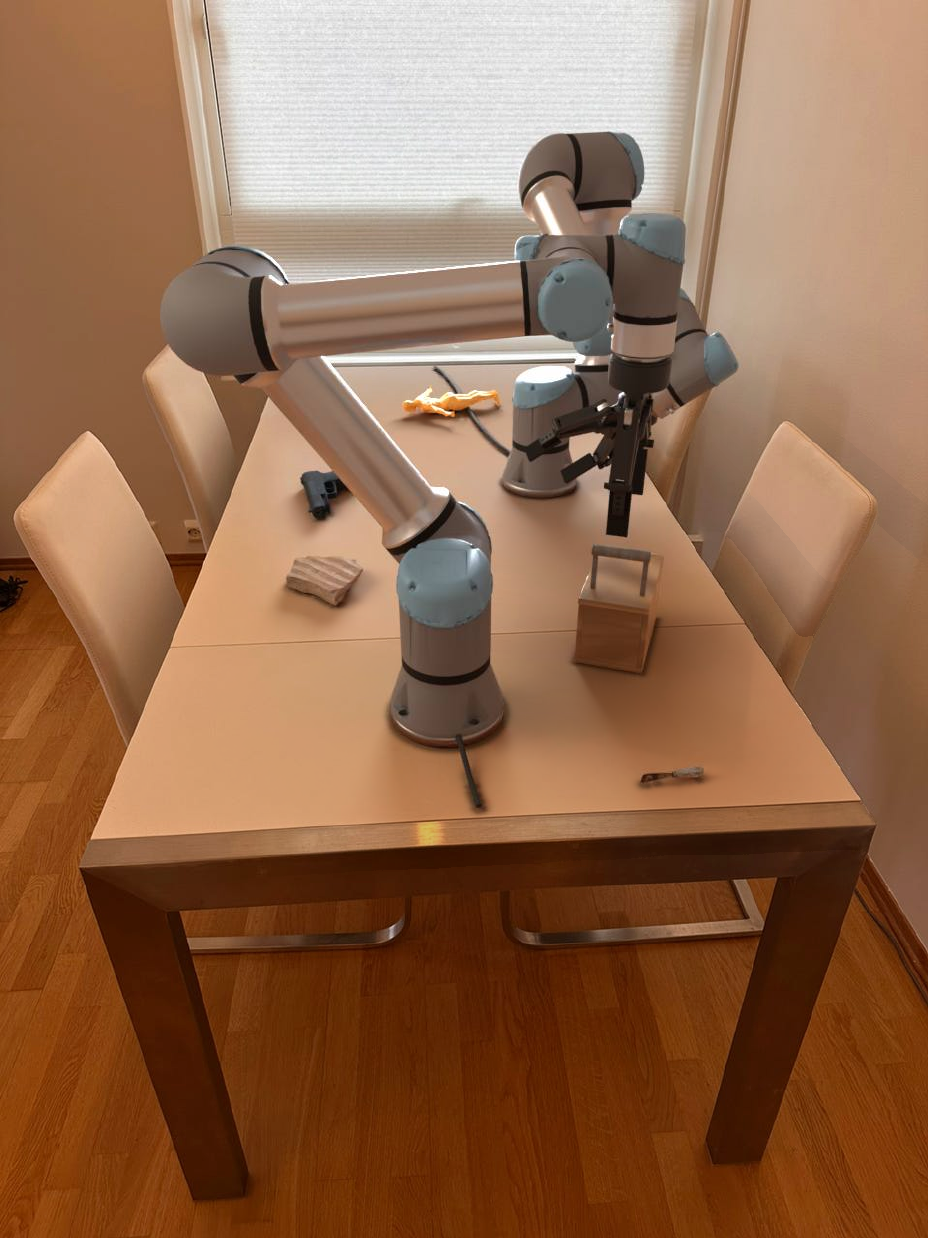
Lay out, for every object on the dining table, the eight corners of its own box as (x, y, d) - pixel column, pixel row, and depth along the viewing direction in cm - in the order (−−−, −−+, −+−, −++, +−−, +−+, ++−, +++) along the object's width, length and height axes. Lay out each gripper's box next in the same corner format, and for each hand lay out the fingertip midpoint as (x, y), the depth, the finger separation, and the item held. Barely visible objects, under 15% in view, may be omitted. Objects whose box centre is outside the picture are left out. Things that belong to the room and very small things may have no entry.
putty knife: (703, 777, 109) (705, 767, 109) (642, 788, 108) (644, 777, 107) (700, 772, 110) (702, 762, 109) (639, 782, 109) (640, 771, 108)
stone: (372, 573, 153) (371, 560, 152) (338, 607, 144) (336, 593, 143) (307, 560, 158) (306, 548, 156) (270, 592, 148) (268, 579, 147)
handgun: (371, 513, 174) (309, 521, 172) (356, 478, 189) (299, 484, 186) (370, 498, 173) (308, 506, 170) (355, 464, 187) (297, 470, 184)
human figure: (395, 413, 223) (394, 398, 221) (438, 390, 237) (438, 375, 235) (462, 429, 215) (462, 413, 213) (502, 404, 229) (503, 388, 227)
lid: (648, 614, 122) (654, 564, 118) (577, 603, 125) (581, 554, 121) (663, 561, 135) (669, 514, 131) (599, 552, 138) (603, 506, 134)
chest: (641, 673, 128) (648, 612, 123) (574, 662, 131) (578, 601, 126) (655, 619, 141) (663, 561, 135) (594, 609, 144) (599, 552, 138)
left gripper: (626, 326, 119) (613, 474, 131) (591, 380, 99) (578, 550, 111) (683, 330, 117) (665, 480, 129) (659, 387, 97) (639, 558, 109)
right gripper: (626, 392, 140) (517, 463, 150) (682, 442, 161) (583, 501, 170) (609, 355, 143) (503, 427, 152) (666, 409, 163) (570, 469, 173)
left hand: (625, 513), depth 120 cm, fingers open, 13 cm apart
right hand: (545, 466), depth 161 cm, fingers open, 13 cm apart
